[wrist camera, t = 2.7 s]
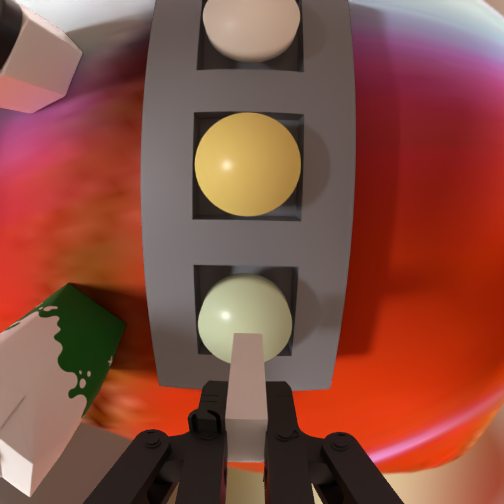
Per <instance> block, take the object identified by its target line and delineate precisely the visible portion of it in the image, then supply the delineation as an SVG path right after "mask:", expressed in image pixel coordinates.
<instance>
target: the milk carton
mask: <svg viewBox="0 0 504 504" xmlns="http://www.w3.org/2000/svg"><path fill="white" fill-rule="evenodd" d="M125 326H126V323H125V322H123V321H122V320H120V319H119V318H117V317H116V316H114V315H113V314H111V313H110V312H108V311H107V310H106V309H104V308H103V307H101V306H100V305H98V304H97V303H96V302H94V301H93V300H91V299H90V298H89V297H87V296H86V295H85V294H83V293H82V292H80V291H79V290H78V289H76V288H75V287H74V286H72V285H71V284H70V283H68V284H66V285H65V286H64V287H62V288H61V289H59V290H58V291H57V292H55V293H54V294H53V295H51V296H50V297H49V298H47V299H46V300H45V301H43V302H42V303H41V304H39V305H38V306H37V307H36V308H34V309H33V310H32V311H30V312H29V313H27V314H26V315H25V316H23V317H22V318H21V319H19V320H18V321H17V322H15V323H14V324H13V325H11V326H10V327H9V328H7V329H6V330H5V331H3V332H2V333H1V334H0V477H3V478H4V479H5V480H7V481H8V482H9V483H11V484H12V485H13V486H15V487H16V488H17V489H19V490H20V491H22V492H23V493H24V494H26V495H27V496H29V497H31V495H32V494H33V492H34V491H35V489H36V488H37V487H38V485H39V484H40V482H41V481H42V480H43V478H44V477H45V476H46V474H47V473H48V472H49V470H50V469H51V467H52V466H53V464H54V463H55V462H56V461H57V459H58V458H59V456H60V455H61V453H62V452H63V450H64V449H65V447H66V445H67V443H68V442H69V441H70V439H71V437H72V435H73V434H74V432H75V430H76V428H77V427H78V425H79V424H80V422H81V420H82V419H83V417H84V415H85V414H86V412H87V410H88V409H89V407H90V406H91V404H92V402H93V401H94V399H95V397H96V396H97V394H98V392H99V391H100V388H101V386H102V384H103V382H104V380H105V378H106V375H107V373H108V371H109V369H110V366H111V364H112V361H113V358H114V355H115V353H116V350H117V347H118V344H119V342H120V339H121V336H122V334H123V331H124V328H125Z"/></svg>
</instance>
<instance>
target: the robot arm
mask: <svg viewBox="0 0 504 504" xmlns="http://www.w3.org/2000/svg"><path fill="white" fill-rule="evenodd" d="M188 424H189V430H190V431H189V432H187V433H185V434H182V435H177V436H169V437H168V436H167V435H166V433H164V432H162V431H160V430H155V429H151V430H145V431H143V432H141V433H140V434H138V435H137V436H136V438H135V439H134V440H133V441H132V443H131V444H130V445H129V446H128V448H127V449H126V450H125V452H124V453H123V454H122V455H121V457H120V458H119V459H118V461H117V462H116V463H115V464H114V466H113V467H112V468H111V469H110V470H109V472H108V473H107V474H106V475H105V477H104V478H103V479H102V480H101V482H100V483H99V484H98V486H97V487H96V488H95V489H94V490H93V492H92V493H91V494H90V495H89V497H88V498H87V499H86V500H85V501H84V503H83V504H166V503H167V502H168V500H169V498H170V496H171V495H172V493H173V491H174V489H175V488H176V486H177V484H178V482H179V487H178V492H177V497H176V502H175V504H225V501H226V485H227V462H264V465H265V466H264V477H263V482H264V487H265V488H264V489H265V504H315V503H314V496H313V491H312V485H311V483H312V484H313V486H314V488H315V490H316V492H317V493H318V495H319V497H320V499H321V501H322V503H323V504H404V503H403V502H402V500H401V499H400V498H399V496H398V495H397V494H396V492H395V491H394V490H393V488H392V487H391V486H390V484H389V483H388V482H387V480H386V479H385V478H384V476H383V475H382V474H381V472H380V471H379V470H378V468H377V467H376V466H375V464H374V463H373V462H372V460H371V459H370V458H369V456H368V455H367V454H366V452H365V451H364V450H363V448H362V447H361V445H360V444H359V443H358V441H357V440H356V439H355V438H354V437H353V436H352V435H350V434H347V433H344V432H335V433H331V434H329V435H327V436H326V437H325V439H322V438H316V437H312V436H309V435H307V434H305V433H303V432H302V431H301V430H300V428H299V426H298V423H297V417H296V411H295V406H294V400H293V395H292V389H291V387H290V386H289V385H288V383H287V382H286V381H265V369H264V354H263V339H262V334H259V333H234V337H233V346H232V356H231V366H230V375H229V381H211V380H209V381H208V382H207V383H206V384H205V385H204V386H203V389H202V393H201V398H200V403H199V407H198V409H196V410H194V411H192V412H191V413H190V414H189V416H188Z"/></svg>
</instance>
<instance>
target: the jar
mask: <svg viewBox="0 0 504 504" xmlns="http://www.w3.org/2000/svg"><path fill="white" fill-rule="evenodd" d="M82 54H83V53H82V51H81V50H80V49H79V48H78V47H77V46H76V45H75V44H74V43H73V41H72V40H71V39H70V38H69V37H68V36H67V35H66V34H65V33H64V32H63V31H61V30H60V29H58V28H57V27H55V26H54V25H52V24H51V23H49V22H48V21H46V20H45V19H43V18H42V17H40V16H39V15H37V14H36V13H34V12H33V11H31V10H29V9H28V8H26V7H25V6H23V5H21V4H20V3H18V2H17V1H15V0H0V108H5V109H10V110H15V111H20V112H25V113H30V114H32V113H34V112H36V111H38V110H39V109H41V108H43V107H45V106H47V105H49V104H51V103H53V102H55V101H57V100H59V99H61V98H63V97H64V96H66V93H67V91H68V88H69V85H70V83H71V80H72V78H73V75H74V73H75V70H76V68H77V66H78V63H79V61H80V59H81V56H82Z"/></svg>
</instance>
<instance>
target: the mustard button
mask: <svg viewBox="0 0 504 504" xmlns="http://www.w3.org/2000/svg"><path fill="white" fill-rule="evenodd" d="M300 170H301V158H300V152H299V149H298V146H297V144H296V142H295V139H294V138H293V136H292V135H291V133H290V132H289V131H288V130H287V129H286V128H285V127H284V126H283V125H282V124H281V123H279V122H278V121H276V120H275V119H273V118H271V117H268V116H266V115H263V114H258V113H250V112H248V113H238V114H233V115H230V116H228V117H225V118H223V119H221V120H220V121H218V122H217V123H215V124H214V125H213V126H212V127H211V128H210V129H209V130H208V131H207V132H206V133H205V135H204V136H203V138H202V139H201V141H200V143H199V146H198V148H197V152H196V156H195V172H196V177H197V181H198V184H199V186H200V188H201V190H202V191H203V193H204V194H205V196H206V197H207V198H208V199H209V200H210V201H211V202H212V203H213V204H214V205H215V206H217V207H218V208H220V209H222V210H224V211H226V212H228V213H231V214H234V215H239V216H257V215H262V214H265V213H268V212H270V211H272V210H274V209H276V208H277V207H279V206H280V205H281V204H283V203H284V202H285V201H286V200H287V199H288V198H289V196H290V195H291V194H292V192H293V191H294V189H295V187H296V185H297V182H298V180H299V176H300Z"/></svg>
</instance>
